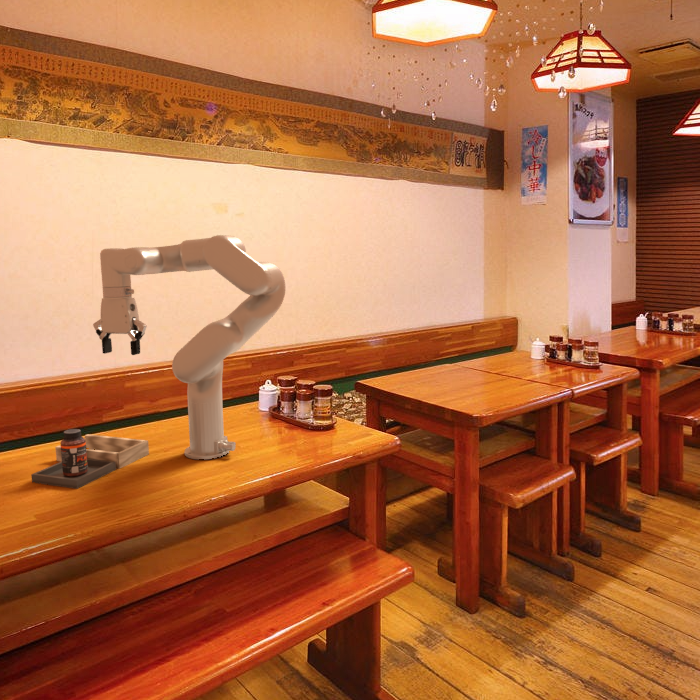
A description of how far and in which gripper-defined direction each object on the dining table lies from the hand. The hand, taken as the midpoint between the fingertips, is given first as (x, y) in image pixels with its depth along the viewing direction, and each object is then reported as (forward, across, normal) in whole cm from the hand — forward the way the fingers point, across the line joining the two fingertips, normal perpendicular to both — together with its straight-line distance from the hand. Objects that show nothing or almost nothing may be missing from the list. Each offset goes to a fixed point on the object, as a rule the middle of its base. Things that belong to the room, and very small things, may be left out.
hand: (121, 353), depth 175 cm
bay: (+28, +2, +8) cm, 29 cm away
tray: (+28, -1, +22) cm, 36 cm away
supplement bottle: (+28, -1, +22) cm, 35 cm away
